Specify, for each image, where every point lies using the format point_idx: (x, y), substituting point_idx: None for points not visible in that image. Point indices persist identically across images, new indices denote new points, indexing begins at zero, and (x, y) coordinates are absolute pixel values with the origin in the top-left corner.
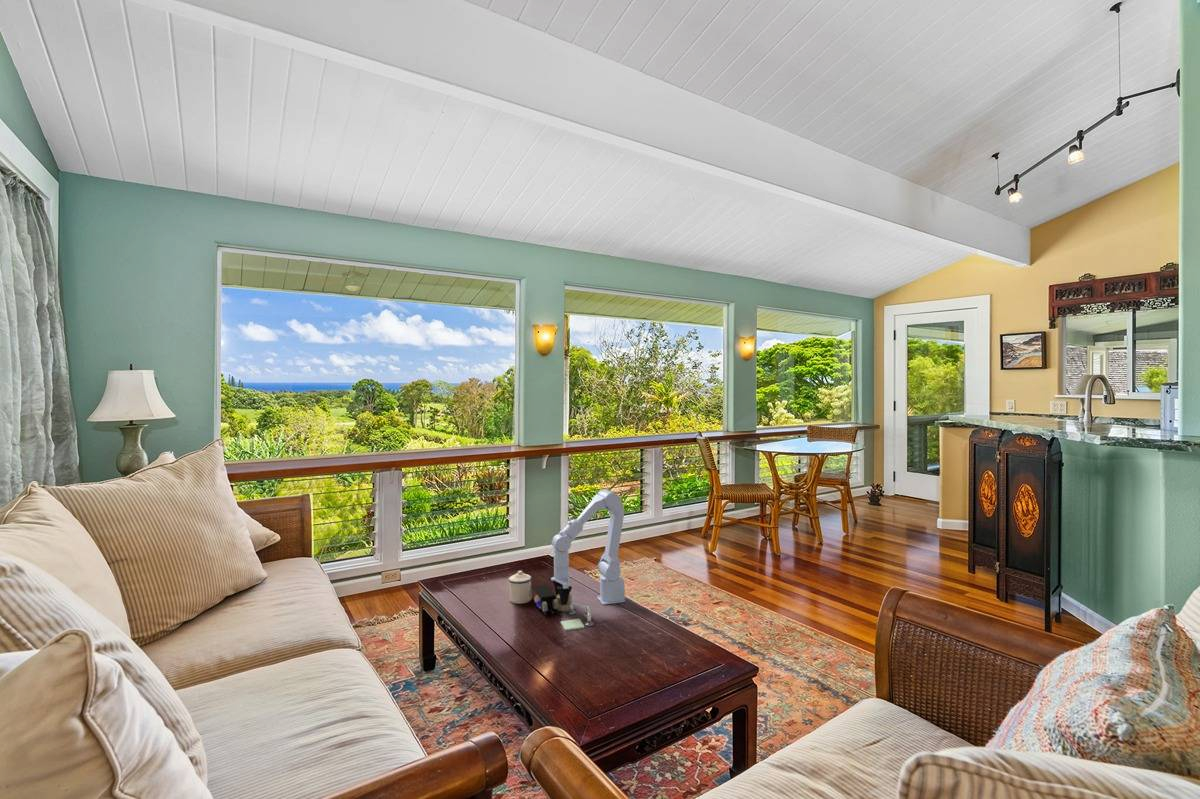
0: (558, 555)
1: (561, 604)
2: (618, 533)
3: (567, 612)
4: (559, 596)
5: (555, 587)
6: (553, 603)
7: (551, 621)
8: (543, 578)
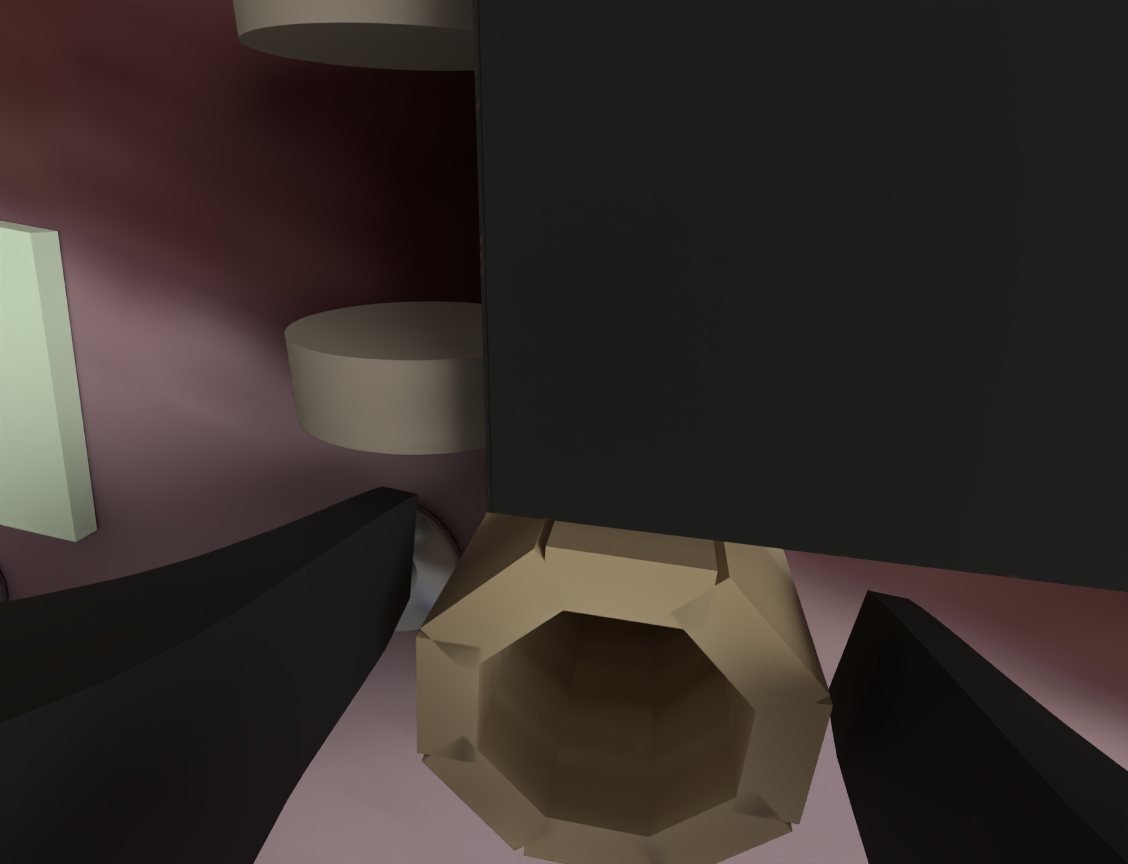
0: None
1: (375, 489)
2: None
3: None
4: (707, 634)
5: (1051, 817)
6: (468, 331)
7: (163, 93)
8: None
